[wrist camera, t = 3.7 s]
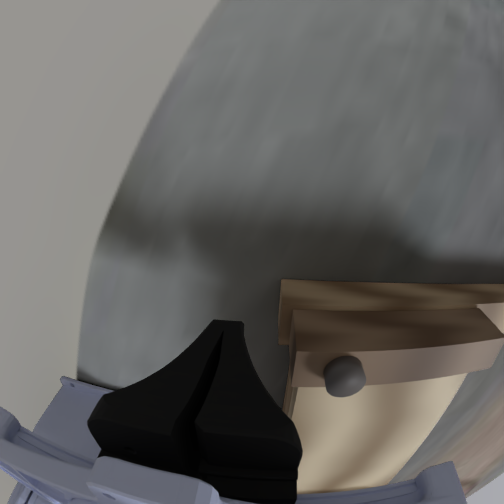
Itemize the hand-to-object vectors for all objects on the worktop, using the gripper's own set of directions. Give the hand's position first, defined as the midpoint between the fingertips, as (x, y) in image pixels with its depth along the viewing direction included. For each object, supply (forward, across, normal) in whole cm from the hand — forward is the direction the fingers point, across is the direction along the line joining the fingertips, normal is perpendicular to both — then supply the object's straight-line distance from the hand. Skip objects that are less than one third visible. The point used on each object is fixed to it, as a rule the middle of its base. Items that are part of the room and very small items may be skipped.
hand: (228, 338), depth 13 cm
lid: (+1, -8, +10) cm, 13 cm away
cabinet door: (+1, -8, 0) cm, 8 cm away
